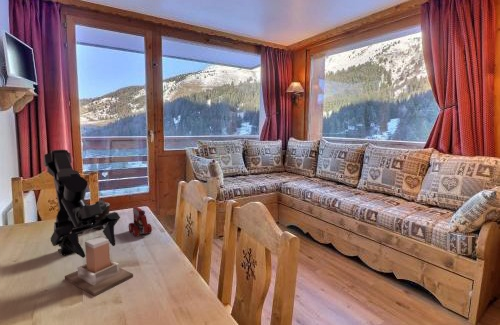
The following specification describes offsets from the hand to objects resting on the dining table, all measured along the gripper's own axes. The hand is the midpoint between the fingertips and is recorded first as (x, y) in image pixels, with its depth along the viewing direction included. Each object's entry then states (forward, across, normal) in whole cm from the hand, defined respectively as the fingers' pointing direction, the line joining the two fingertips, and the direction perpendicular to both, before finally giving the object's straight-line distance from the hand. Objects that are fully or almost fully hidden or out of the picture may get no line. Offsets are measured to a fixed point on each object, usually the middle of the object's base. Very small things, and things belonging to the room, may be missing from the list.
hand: (100, 250), depth 87 cm
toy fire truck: (-9, +30, +22) cm, 38 cm away
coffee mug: (-24, +26, +37) cm, 50 cm away
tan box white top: (+5, 0, +7) cm, 8 cm away
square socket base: (+5, 0, +7) cm, 9 cm away
